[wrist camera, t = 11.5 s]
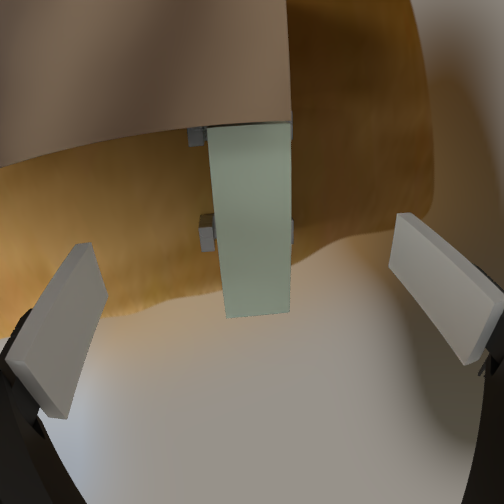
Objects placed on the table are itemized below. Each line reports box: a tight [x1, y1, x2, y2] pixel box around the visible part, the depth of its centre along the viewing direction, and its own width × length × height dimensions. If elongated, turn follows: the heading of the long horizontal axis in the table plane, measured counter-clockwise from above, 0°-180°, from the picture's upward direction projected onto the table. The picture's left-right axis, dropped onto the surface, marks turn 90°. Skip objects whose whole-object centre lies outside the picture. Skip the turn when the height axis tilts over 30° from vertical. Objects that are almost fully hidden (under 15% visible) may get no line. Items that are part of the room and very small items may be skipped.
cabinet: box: [0, 0, 292, 168], centre depth 12 cm, size 22×9×14 cm, turn 93°
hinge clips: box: [187, 111, 294, 252], centre depth 23 cm, size 7×10×2 cm
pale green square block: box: [207, 121, 291, 318], centre depth 19 cm, size 4×10×10 cm, turn 3°
